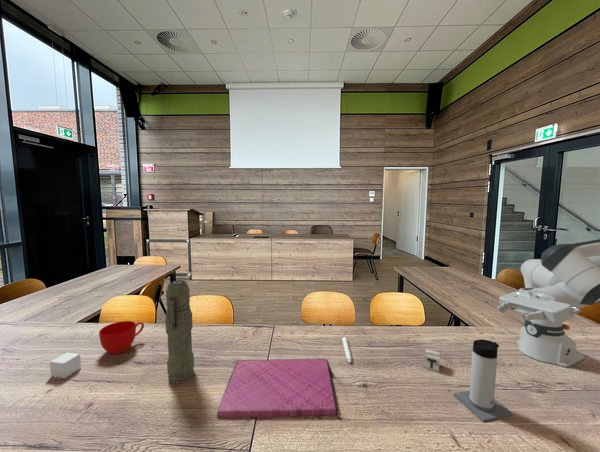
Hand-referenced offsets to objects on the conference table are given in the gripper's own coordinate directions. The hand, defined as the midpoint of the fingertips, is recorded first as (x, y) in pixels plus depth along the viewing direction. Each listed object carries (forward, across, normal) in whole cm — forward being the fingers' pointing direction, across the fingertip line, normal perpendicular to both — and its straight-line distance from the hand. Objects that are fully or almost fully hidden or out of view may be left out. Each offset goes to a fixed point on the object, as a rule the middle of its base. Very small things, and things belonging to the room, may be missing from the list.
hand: (511, 313), depth 86 cm
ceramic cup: (+143, +44, +14) cm, 150 cm away
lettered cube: (+21, +20, -20) cm, 36 cm away
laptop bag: (+77, +15, -8) cm, 79 cm away
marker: (+50, +33, -12) cm, 61 cm away
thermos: (+113, +24, +3) cm, 116 cm away
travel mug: (+18, 0, -24) cm, 30 cm away
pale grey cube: (+155, +29, +14) cm, 158 cm away
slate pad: (+18, 0, -24) cm, 30 cm away
